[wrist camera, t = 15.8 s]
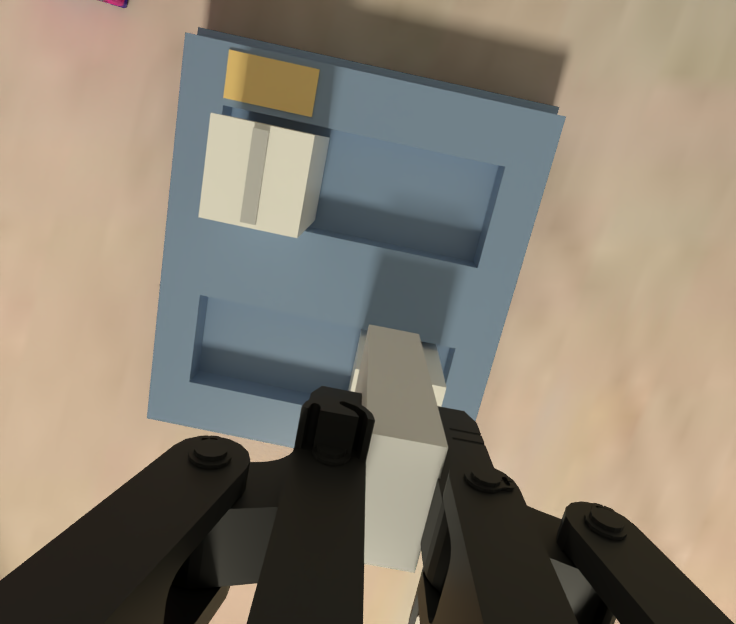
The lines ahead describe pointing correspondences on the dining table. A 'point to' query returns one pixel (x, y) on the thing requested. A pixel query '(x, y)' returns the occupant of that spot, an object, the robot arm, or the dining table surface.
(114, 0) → the supplement box
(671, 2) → the dining table surface
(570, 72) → the dining table surface
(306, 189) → the tab
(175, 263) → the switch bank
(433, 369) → the tab
